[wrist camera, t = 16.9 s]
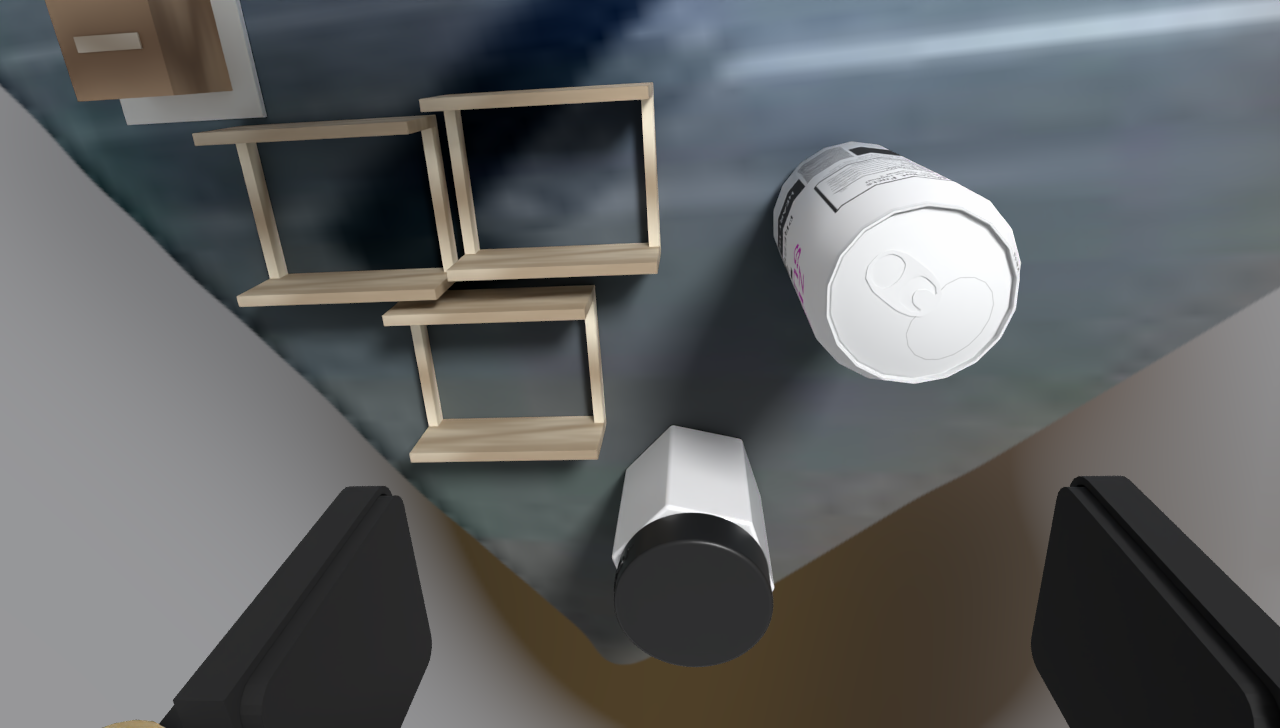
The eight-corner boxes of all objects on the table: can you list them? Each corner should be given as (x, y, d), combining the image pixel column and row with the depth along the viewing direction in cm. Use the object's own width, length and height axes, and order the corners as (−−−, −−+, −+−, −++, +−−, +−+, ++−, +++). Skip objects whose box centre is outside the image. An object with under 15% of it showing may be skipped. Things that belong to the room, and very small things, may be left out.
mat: (84, -35, 39) (78, -36, 39) (228, -46, 39) (224, -47, 38) (132, 124, 42) (127, 125, 42) (267, 116, 42) (263, 117, 41)
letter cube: (115, -5, 39) (36, -12, 35) (207, -12, 39) (140, -21, 34) (145, 96, 41) (74, 101, 36) (232, 90, 41) (172, 95, 36)
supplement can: (953, 201, 41) (1085, 276, 27) (850, 314, 44) (922, 435, 30) (841, 108, 39) (920, 137, 26) (741, 231, 42) (764, 318, 28)
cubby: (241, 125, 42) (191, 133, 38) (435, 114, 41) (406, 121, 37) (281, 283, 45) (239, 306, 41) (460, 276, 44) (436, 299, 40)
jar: (611, 440, 48) (586, 556, 37) (733, 406, 46) (745, 516, 35) (655, 551, 51) (644, 688, 40) (771, 522, 50) (793, 657, 39)
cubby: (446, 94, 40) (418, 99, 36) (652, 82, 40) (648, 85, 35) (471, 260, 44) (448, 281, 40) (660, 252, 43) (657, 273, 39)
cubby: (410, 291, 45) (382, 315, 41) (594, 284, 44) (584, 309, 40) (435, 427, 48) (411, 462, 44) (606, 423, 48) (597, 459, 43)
